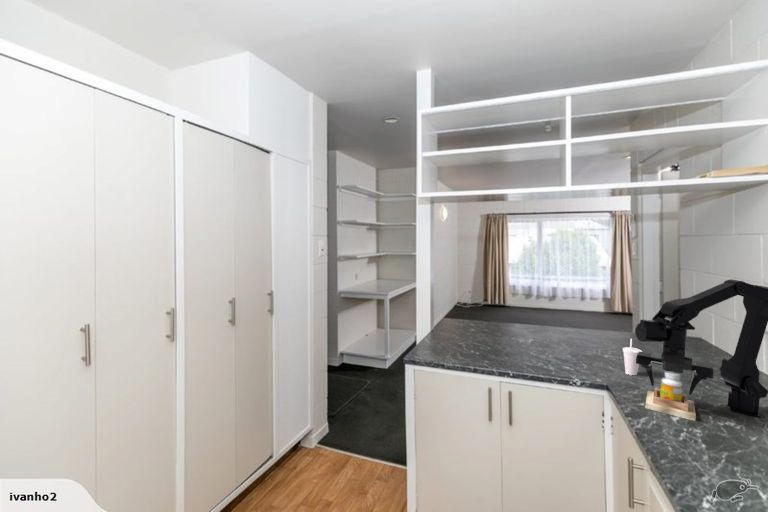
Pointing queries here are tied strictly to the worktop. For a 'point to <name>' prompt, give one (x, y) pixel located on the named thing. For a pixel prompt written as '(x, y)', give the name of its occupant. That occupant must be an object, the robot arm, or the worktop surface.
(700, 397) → the worktop surface
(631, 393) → the worktop surface
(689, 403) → the birch stand
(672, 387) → the supplement bottle
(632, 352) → the smoothie
